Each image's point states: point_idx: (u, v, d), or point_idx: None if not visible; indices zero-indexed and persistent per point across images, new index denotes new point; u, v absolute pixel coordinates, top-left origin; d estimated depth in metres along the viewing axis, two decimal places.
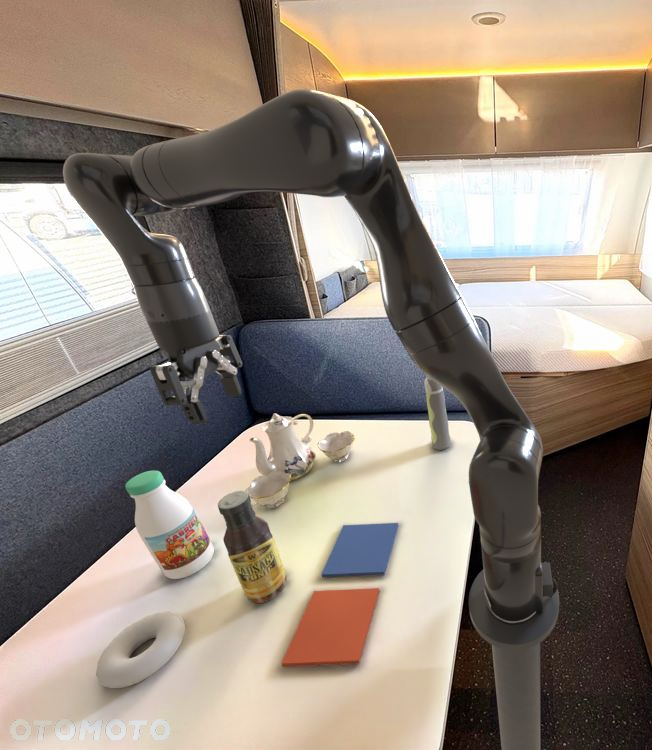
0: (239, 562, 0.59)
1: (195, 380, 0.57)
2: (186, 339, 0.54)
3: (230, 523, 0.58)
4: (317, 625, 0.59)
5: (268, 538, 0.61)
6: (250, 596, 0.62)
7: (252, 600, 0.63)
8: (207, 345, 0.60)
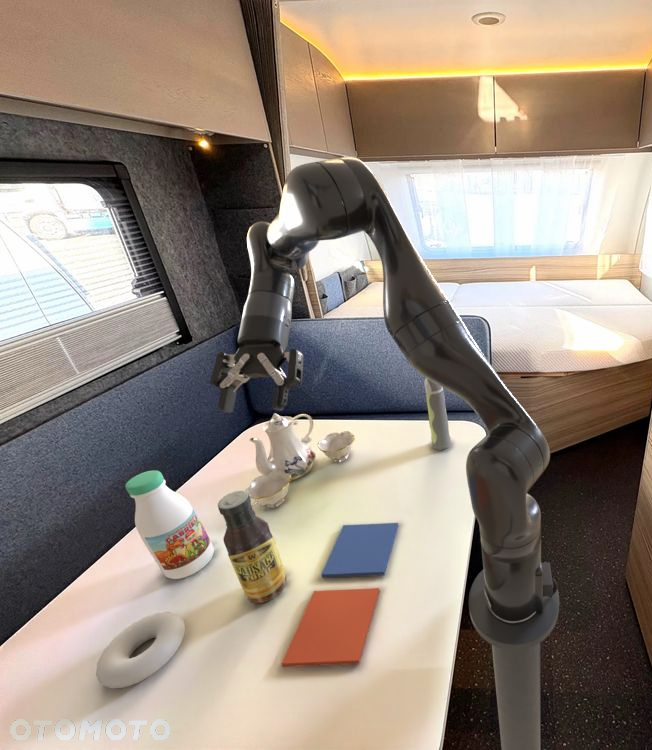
0: (239, 562, 0.59)
1: (231, 370, 0.65)
2: None
3: (230, 523, 0.58)
4: (317, 625, 0.59)
5: (268, 538, 0.61)
6: (250, 596, 0.62)
7: (252, 600, 0.63)
8: (265, 350, 0.66)
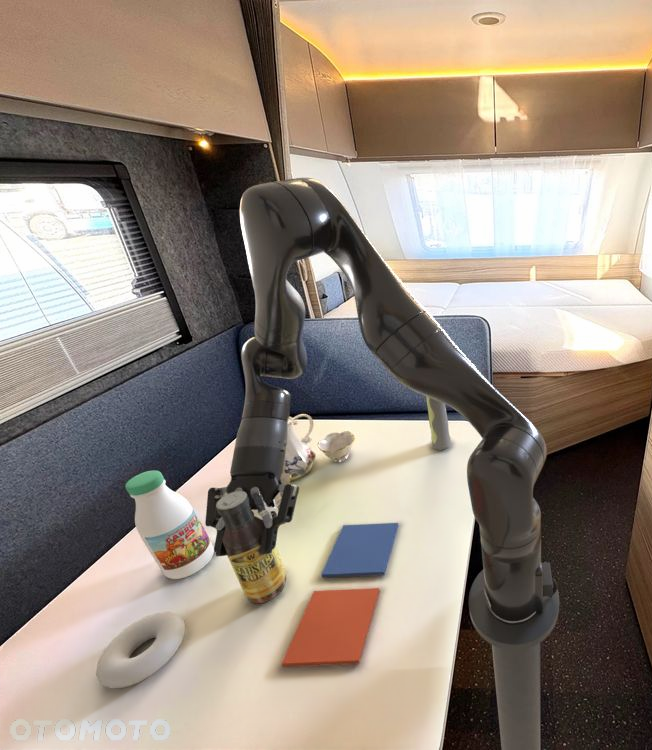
0: (238, 562, 0.59)
1: None
2: (231, 466, 0.63)
3: (228, 524, 0.57)
4: (317, 625, 0.59)
5: None
6: (250, 596, 0.62)
7: (252, 600, 0.63)
8: (259, 481, 0.63)
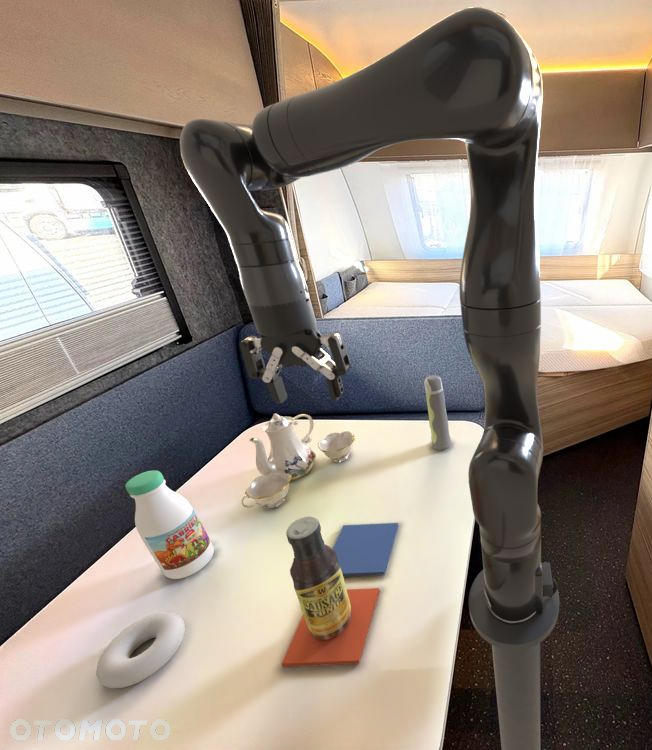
0: (308, 597, 0.53)
1: (267, 364, 0.55)
2: (255, 325, 0.52)
3: (299, 554, 0.51)
4: None
5: (337, 568, 0.55)
6: (316, 633, 0.56)
7: (317, 637, 0.57)
8: (296, 338, 0.54)
